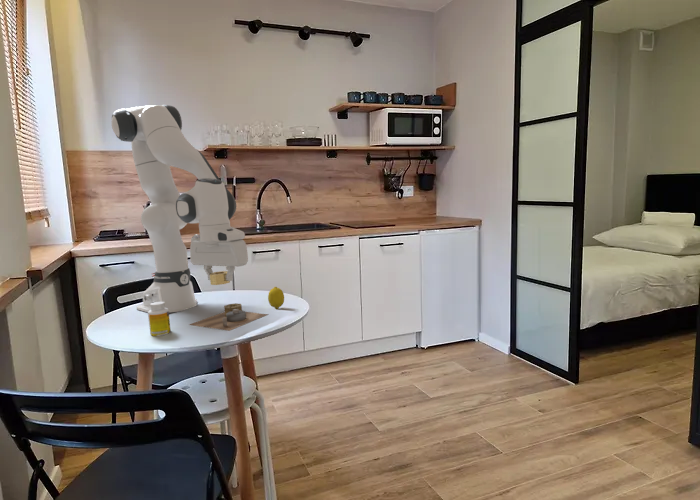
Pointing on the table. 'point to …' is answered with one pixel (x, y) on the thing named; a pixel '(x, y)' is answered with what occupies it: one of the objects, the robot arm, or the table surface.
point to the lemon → (276, 297)
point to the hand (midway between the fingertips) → (220, 280)
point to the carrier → (229, 318)
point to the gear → (218, 278)
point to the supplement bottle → (159, 319)
